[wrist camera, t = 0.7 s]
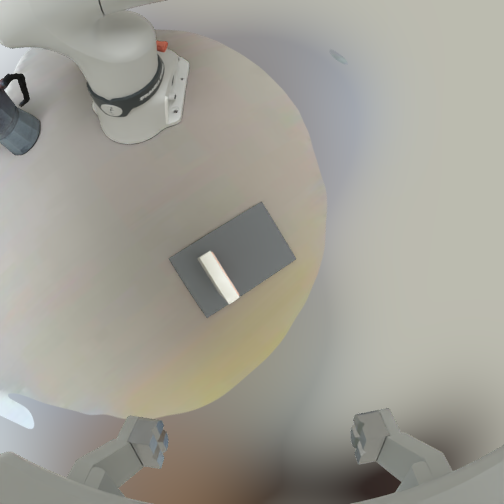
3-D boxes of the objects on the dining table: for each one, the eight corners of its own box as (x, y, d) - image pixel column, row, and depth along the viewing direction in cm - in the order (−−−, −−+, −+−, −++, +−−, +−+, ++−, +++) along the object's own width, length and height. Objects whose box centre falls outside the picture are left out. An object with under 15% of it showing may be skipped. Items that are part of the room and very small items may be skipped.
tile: (218, 293, 50) (229, 304, 37) (196, 258, 49) (199, 257, 36) (227, 287, 50) (240, 296, 37) (205, 252, 49) (211, 250, 37)
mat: (206, 317, 50) (206, 318, 49) (168, 258, 48) (168, 258, 48) (295, 259, 53) (296, 259, 53) (261, 202, 52) (261, 201, 52)
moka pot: (-4, 142, 40) (-54, 107, 21) (47, 97, 43) (9, 46, 24) (6, 173, 41) (-51, 143, 22) (60, 126, 44) (17, 74, 25)
